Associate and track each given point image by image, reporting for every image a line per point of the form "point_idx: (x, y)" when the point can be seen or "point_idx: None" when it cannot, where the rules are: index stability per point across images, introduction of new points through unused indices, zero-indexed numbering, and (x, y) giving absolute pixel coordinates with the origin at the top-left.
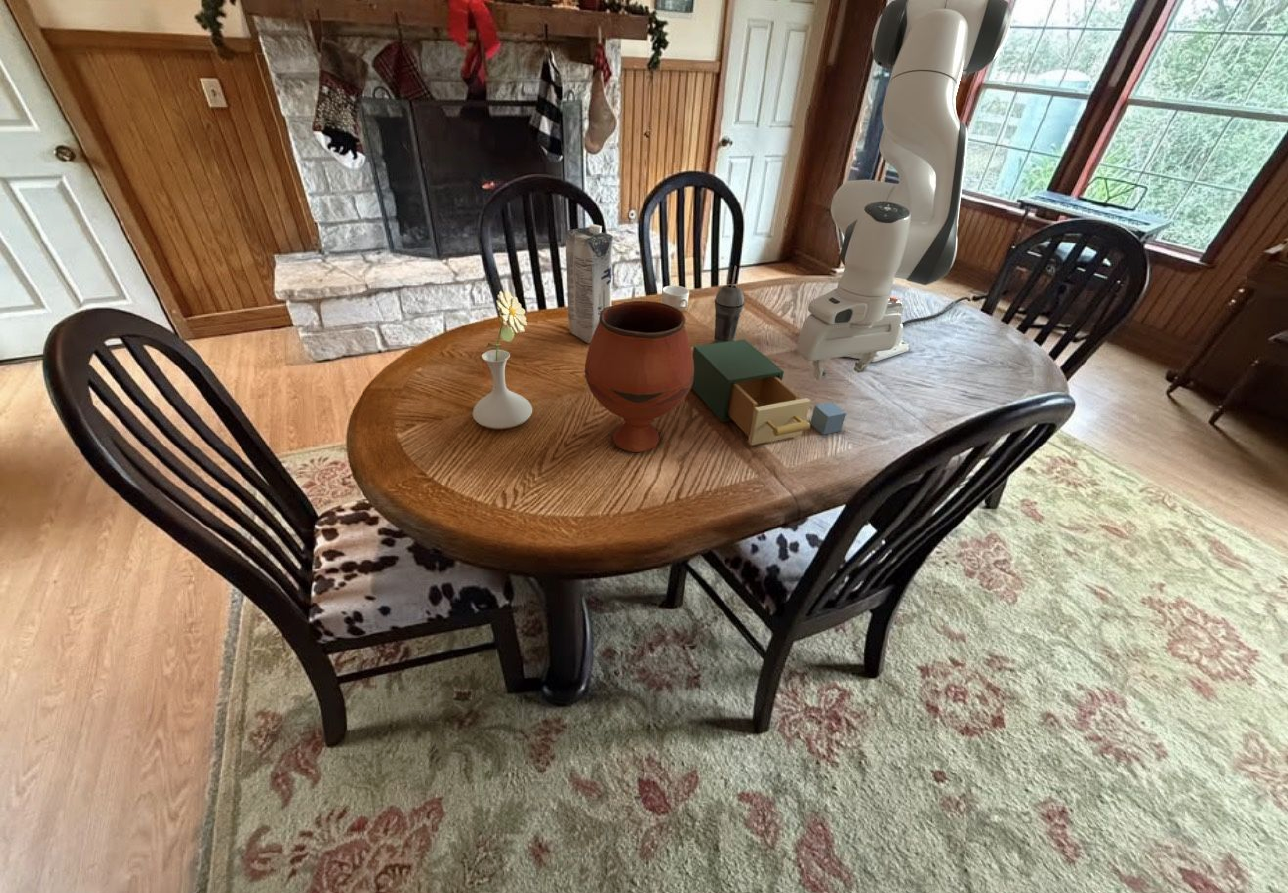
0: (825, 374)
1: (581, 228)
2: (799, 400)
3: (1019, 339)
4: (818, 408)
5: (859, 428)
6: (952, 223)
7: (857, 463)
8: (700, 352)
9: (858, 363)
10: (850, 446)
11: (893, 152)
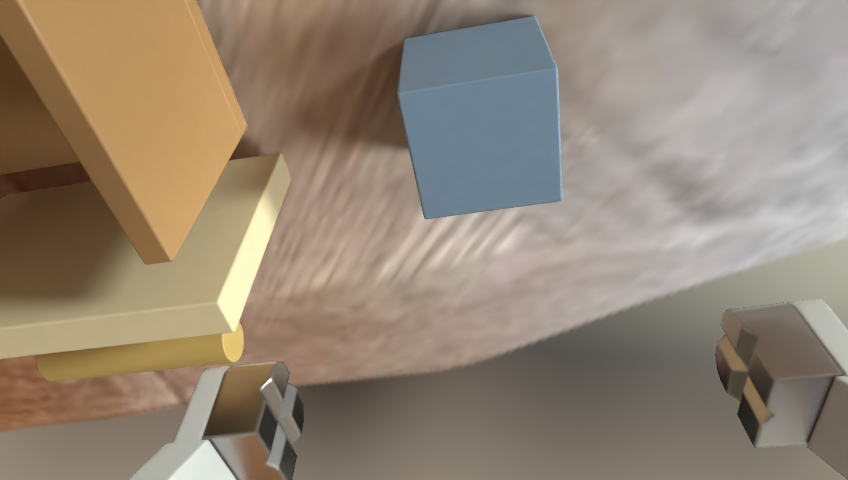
0: (291, 451)
1: None
2: (155, 320)
3: None
4: (405, 133)
5: (665, 122)
6: None
7: (473, 324)
8: None
9: (767, 408)
10: (512, 240)
11: None
